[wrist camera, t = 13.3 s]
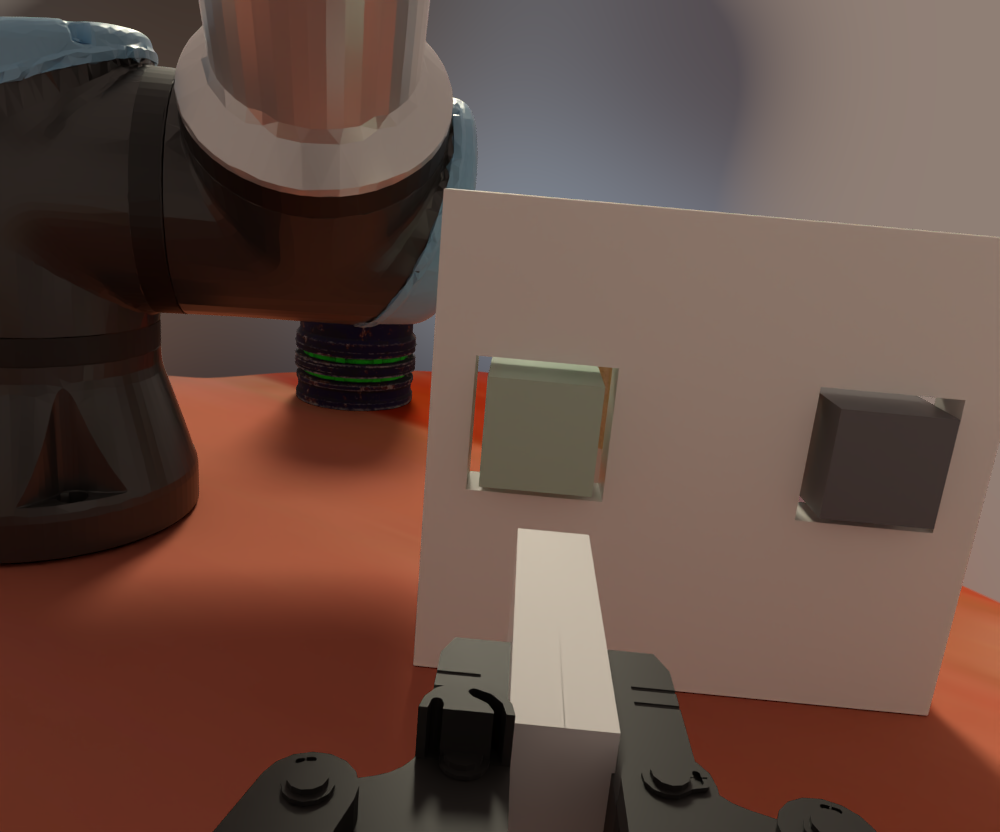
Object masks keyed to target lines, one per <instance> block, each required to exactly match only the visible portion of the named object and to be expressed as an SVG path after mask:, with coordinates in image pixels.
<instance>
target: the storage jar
mask: <svg viewBox="0 0 1000 832" xmlns="http://www.w3.org/2000/svg"><path fill="white" fill-rule="evenodd" d="M295 340H296V345H297V347H298V348H297V349H296V351H295V353H296V355H295V359H296V361H295V363H296V365H297V366H298V367H299V368H298V369H297V377H298V385H297V387H296V395H297V397H298V398H299V399H301V400H302V401H304V402H307V403H309V404H312V405H316V406H320V407H324V408H330V409H338V410H349V411H375V410H386V409H392V408H397V407H400V406H403V405H406V404H407V403H409V402H410V401H411V399H412V391H411V388H410V386H411V382H412V380H413V375H412V373H411V372H413V371H414V369H415V355H414V354H413V353H414V352H415V346H416V337H415V334H414V333H413V324H378V325H376V326H373V327H366V328H363V327H355V326H354V325H350V324H336V323H322V322H308V321H300V327H299V328H298V329H297V334H296V338H295Z"/></svg>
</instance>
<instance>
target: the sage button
mask: <svg viewBox="0 0 1000 832" xmlns="http://www.w3.org/2000/svg"><path fill="white" fill-rule="evenodd" d="M604 394H605V385H604V382H603V379H602V376H601V373H600V371H599V368H598V366H587V365H576V364H565V363H554V362H543V361H532V360H522V359H511V358H500V357H492V361H491V366H490V370H489V374H488V381H487V393H486V405H485V417H484V429H483V441H482V453H481V465H480V477H479V487H489V488H500V489H510V490H521V491H531V492H542V493H553V494H563V495H574V496H585V497H592V491H593V483H594V475H595V467H596V459H597V451H598V442H599V434H600V426H601V418H602V410H603V402H604Z"/></svg>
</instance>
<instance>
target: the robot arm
mask: <svg viewBox="0 0 1000 832" xmlns="http://www.w3.org/2000/svg"><path fill="white" fill-rule="evenodd" d="M429 5H430V0H199V6H200V12H201V18H202V24H203V26H201V27H200V28H199V29H198V30H197V31H196V33H195V34H194V35H193V36H192V37H191V38H190V40H189V41H188V42H187V44H186V46H185V47H184V49H183V51H182V53H181V56H180V58H179V60H178V64H177V67H176V68H169V67H160V66H157V64H158V56H157V54H156V53H155V51H154V50H153V47H152V44H151V41H150V40H149V39H148V38H147V37H146V36H145V35H144V34H142V33H140V32H138V31H136V30H133V29H130V28H125V27H121V26H117V25H111V24H105V23H98V22H85V21H82V22H71V21H63V20H61V19H56V18H34V17H0V563H18V562H32V561H42V560H50V559H58V558H65V557H71V556H77V555H82V554H88V553H92V552H97V551H101V550H105V549H109V548H113V547H117V546H120V545H124V544H127V543H130V542H133V541H136V540H139V539H142V538H144V537H147V536H149V535H152V534H154V533H156V532H158V531H161V530H163V529H165V528H167V527H168V526H170V525H172V524H174V523H175V522H177V521H178V520H180V519H181V518H183V517H184V516H185V515H186V514H187V513H188V512H189V511H190V510H191V509H192V508H193V507H194V506H195V504H196V502H197V500H198V497H199V470H198V457H197V452H196V450H195V447H194V444H193V443H192V440H191V437H190V434H189V431H188V428H187V426H186V423H185V420H184V417H183V415H182V412H181V409H180V407H179V404H178V401H177V399H176V396H175V394H174V391H173V388H172V386H171V383H170V380H169V378H168V375H167V373H166V370H165V367H164V364H163V360H162V354H161V353H162V352H161V320H160V317H161V313H181V314H203V315H220V316H238V317H252V318H267V319H282V320H294V321H308V322H322V323H336V324H350V325H354V326H355V327H363V328H366V327H373V326H376V325H378V324H415V323H420V322H423V321H425V320H427V319H429V318H430V317H432V316H433V315H434V314H435V313H436V303H437V287H438V271H439V256H440V240H441V225H442V209H443V194H444V189H445V188H452V189H464V190H475V187H476V176H477V155H478V151H477V134H476V125H475V120H474V117H473V114H472V112H471V109H470V108H469V107H468V105H467V104H466V103H464V102H463V101H461V100H460V99H457V98H454V97H453V94H452V88H451V84H450V81H449V77H448V75H447V72H446V70H445V68H444V65H443V64H442V62H441V61H440V59H439V57H438V56H437V54H436V53H435V52H434V50H433V49H432V48H431V47H430V46H429V45H428V43H427V42H426V41H425V40H426V31H427V23H428V14H429ZM213 832H876V830H875V829H873V828H872V827H871V826H870V825H869V824H868V823H867V822H866V821H865V820H864V819H863V818H862V817H860V816H859V815H857V814H855V813H854V812H852V811H850V810H848V809H847V808H845V807H843V806H841V805H838V804H835V803H832V802H829V801H826V800H823V799H813V798H800V799H796V800H792V801H789V802H787V803H786V804H785V805H784V806H783V807H782V808H781V809H780V810H779V813H778V818H777V819H774V818H771V817H768V816H765V815H762V814H759V813H756V812H753V811H750V810H747V809H745V808H743V807H740V806H738V805H735V804H733V803H731V802H730V801H728V800H726V799H725V798H723V797H721V796H720V795H719V792H718V789H717V786H716V784H715V783H714V781H713V779H712V777H711V776H710V774H709V773H708V772H707V771H706V770H704V769H703V768H702V767H701V766H700V765H699V764H698V763H696V762H695V760H694V757H693V753H692V750H691V746H690V743H689V739H688V735H687V732H686V728H685V725H684V721H683V718H682V714H681V710H679V703H678V700H677V696H676V694H675V689H674V686H673V682H672V678H671V675H670V672H669V671H668V669H667V668H666V667H665V666H664V665H663V664H662V663H661V662H660V661H659V660H658V659H657V658H656V656H655V655H654V654H647V653H637V652H627V651H616V650H607V645H606V639H605V633H604V627H603V620H602V614H601V608H600V602H599V595H598V589H597V583H596V576H595V570H594V564H593V558H592V551H591V545H590V539H589V535H585V534H574V533H564V532H553V531H542V530H532V529H521V528H518V533H517V543H516V554H515V564H514V574H513V584H512V594H511V605H510V615H509V625H508V635H507V642H501V641H490V640H480V639H470V638H459V637H455V638H454V639H453V640H452V641H451V642H450V643H449V644H448V645H447V646H446V647H445V648H444V649H443V650H442V651H441V653H440V658H439V663H438V668H437V673H436V678H435V683H434V688H433V690H432V691H431V692H429V693H428V694H426V695H425V696H424V698H423V699H422V701H421V703H420V705H419V709H418V724H417V739H416V754H415V757H414V758H413V759H412V760H411V761H410V762H408V763H407V764H405V765H404V766H403V767H401V768H398V769H396V770H394V771H391V772H389V773H384V774H380V775H376V776H369V777H362V778H357V773H356V771H355V770H354V769H353V768H352V767H351V766H350V765H349V763H348V762H347V761H345V760H343V759H341V758H339V757H336V756H334V755H332V754H326V753H318V752H308V753H300V754H293V755H291V756H288V757H286V758H284V759H281V760H279V761H276V762H275V763H274V764H273V765H271V766H270V767H269V768H268V769H266V770H265V771H264V772H263V773H262V774H261V775H260V776H259V778H258V779H257V780H256V781H255V782H254V784H253V785H252V786H251V787H250V788H249V790H248V791H247V792H246V793H245V794H244V795H243V797H242V798H241V799H240V800H239V801H238V803H237V804H236V805H235V806H234V807H233V809H232V810H231V811H230V812H229V813H228V814H227V816H226V817H225V818H224V819H223V820H222V822H221V823H220V824H219V825H218V826H217V828H216V829H215V830H214V831H213Z"/></svg>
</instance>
